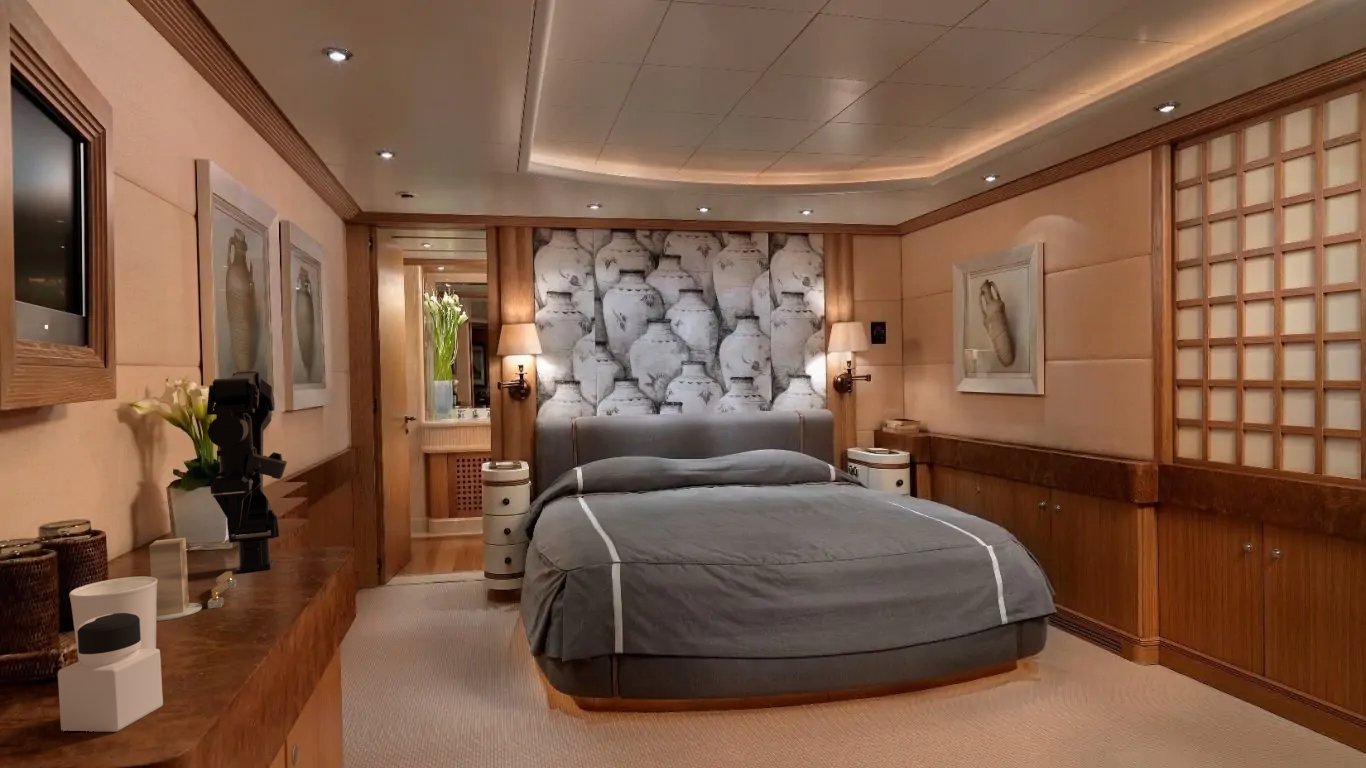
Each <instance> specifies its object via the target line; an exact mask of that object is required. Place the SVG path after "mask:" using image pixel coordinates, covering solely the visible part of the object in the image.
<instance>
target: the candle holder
mask: <svg viewBox="0 0 1366 768" xmlns="http://www.w3.org/2000/svg"><path fill="white" fill-rule="evenodd" d="M157 582H158V581H157V579H156V578H154V577H151V576H141V575H140V576H129V577H128V576H127V577H120V578H119V577H118V578H112V579H107V580H102V581H101V580H100V581H95V582H91V583H88V584H85V585H82V586H79V587H76V588H74V589H73V590H71V591H70V592H69V594H68V596H69V600H70V604H71V605H70V606H71V613H72V621H73V622H72V623H73V628H74V636H75V644H76V646H77V634H76V629H77V628H78V627H79V625H81V624H82V623H84V622H86V621H88V620H90V619H92V618H95V617H99V616H103V615H108V614H115V613H129V614H134V615H136V616H138V617H139V618H140V636H141V647H140V648H138V649H157V621H156V614H157ZM76 652H77V654H78V651H77V650H76ZM77 659H78V658H77ZM79 661H81V660H79V659H78V662H79Z"/></svg>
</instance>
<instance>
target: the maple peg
mask: <svg viewBox="0 0 1366 768" xmlns="http://www.w3.org/2000/svg"><path fill="white" fill-rule="evenodd" d="M187 557H188V556H187V540H186V537H179V538H169V539H157V540H155V541H153V542H152V543H151V544H149V563H150V564H149V565H150V577H154V578H156V579H157V581H158V582H157V614H156V616H159V615H167V614H175V613H182V612H184V611H185V610H186V609H187V608H188V606H189V603H190V599H189V598H190V597H189V595H190V594H189V580H188V579H189V578H188V563H187V562H188V560H187Z"/></svg>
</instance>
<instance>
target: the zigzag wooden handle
mask: <svg viewBox="0 0 1366 768" xmlns="http://www.w3.org/2000/svg"><path fill="white" fill-rule="evenodd" d="M215 583H216V586H215V587H213V588H212V589H211V596H212V597H211V598H209V599H208V601H207V609H209V610H210V609H216V608H218V609H219V608H222V606H223V605H224V597H223V596H220V597H219V595H220V594H222V593H223V592H225V590H227V589H229V590H230V589H235V587H236V586H237V578H233V571H232V570H230V571H225V572H224V573H222V574H220V575H219V576H217V577H216V578H215Z"/></svg>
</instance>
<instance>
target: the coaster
mask: <svg viewBox="0 0 1366 768" xmlns="http://www.w3.org/2000/svg"><path fill="white" fill-rule="evenodd" d="M202 609H203V604H201V603H197V602H189V606H188V608H187V609H186V610H185V611H184V612H182V613H175V614H167V615H159V616H156V622H162V621H163V622H164V621H169V620H176V619H180V618H184V617H188V616H191V615H193V614H194V615H195V614H196V613H198V612H200V611H201V610H202Z"/></svg>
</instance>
